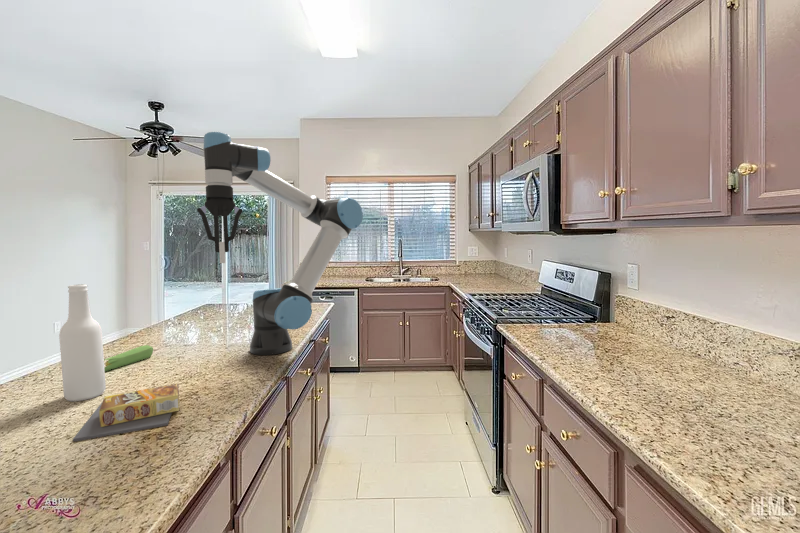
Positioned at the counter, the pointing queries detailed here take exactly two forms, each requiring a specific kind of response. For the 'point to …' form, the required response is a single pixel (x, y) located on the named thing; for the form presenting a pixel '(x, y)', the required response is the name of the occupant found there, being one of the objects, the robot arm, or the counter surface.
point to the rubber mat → (119, 426)
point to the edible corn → (128, 357)
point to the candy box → (139, 404)
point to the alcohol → (81, 349)
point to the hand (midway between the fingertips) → (222, 262)
